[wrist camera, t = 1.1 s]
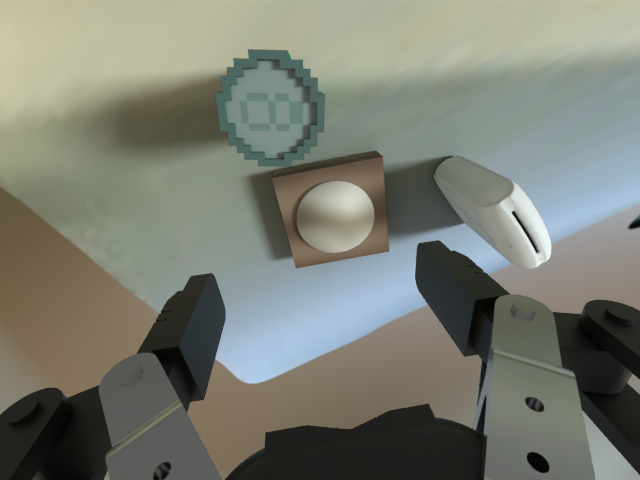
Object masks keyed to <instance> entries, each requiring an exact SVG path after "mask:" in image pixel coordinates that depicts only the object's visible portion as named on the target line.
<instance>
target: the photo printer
mask: <svg viewBox="0 0 640 480" xmlns="http://www.w3.org/2000/svg"><path fill="white" fill-rule="evenodd" d="M434 179H435V181H436V183H437V185H438V186H439V188H440V190H441V191H442V193H443V194H444V196H445V197H446V199H447V200H448V202H449V203H450V204H451V206H452V207H453V209H454V210H455V211H456V213H457V214H458V215H459V217H460V218H461V219H462V220H463V222H464V223H465V224H466V225H468V226H469V227H470V228H471V229H472V230H473V231H475V232H476V233H477V234H478V235H479V236H480V237H482V238H483V239H484V240H485V241H486V242H487V243H489V244H490V245H491V246H492V247H493V248H494V249H495V250H497V251H498V252H499V253H500V254H501V255H502V256H503V257H505V258H506V259H507V260H508V261H509V262H511V263H512V264H514V265H516V266H518V267H521V268H536V267H538V266H539V265H540V264H541V263H543V262H545V261H547V260H548V259H549V258H550V254H551V241H550V237H549V234H548V232H547V229H546V227H545V225H544V223H543V221H542V219H541V217H540V215H539V214H538V212H537V210H536V208H535V207H534V205H533V204H532V202H531V201H530V199H529V198H528V197H527V195H526V194H525V193H524V191H523V190H522V189H521V188H520V187H519V186H518V185H517V184H516V183H514V182H513V181H512V180H510V179H508V178H506V177H504V176H502V175H500V174H498V173H496V172H494V171H492V170H490V169H488V168H486V167H483V166H481V165H479V164H477V163H475V162H473V161H471V160H468V159H466V158H464V157H462V156H457V157H456V158H455V157H452V158H448V159H446V160H445V161H443V162H442V163H441V164H440V165H439V166H438V167H437V169H436V171H435V174H434Z"/></svg>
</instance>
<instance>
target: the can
mask: <svg viewBox="0 0 640 480" xmlns="http://www.w3.org/2000/svg"><path fill="white" fill-rule="evenodd" d="M248 54H249V59H239V58H233V60H234V67H227V75H228V76H220V79H221V87H222V92H216V93H215V97H216V104H217V111H218V117H219V124H220V131H221V132H228V138H229V146H236V147H237V153H244V158H245V160H258V165H259V166H291V163H292V160H304V153H310V146H317V132H324V102H325V94H323V93H321V92H319V91H318V78H310V69H303V60H291V58H290V55H289V53H288V51H287V50H248Z"/></svg>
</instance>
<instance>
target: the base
mask: <svg viewBox="0 0 640 480" xmlns="http://www.w3.org/2000/svg"><path fill="white" fill-rule="evenodd" d="M272 181H273V184H274V188H275V192H276V196H277V199H278V203H279V207H280V210H281V214H282V218H283V221H284V225H285V229H286V232H287V236H288V240H289V244H290V247H291V251H292V255H293V258H294V262H295V266H296V268H300V267H306V266H311V265H317V264H322V263H328V262H333V261H339V260H344V259H350V258H355V257H361V256H366V255H372V254H377V253H383V252H389V242H388V227H387V212H386V198H385V183H384V168H383V156H382V155H380V154H379V153H378V152H377V151H372V152H366V153H361V154H356V155H351V156H346V157H341V158H336V159H331V160H325V161H320V162H315V163H310V164H305V165H300V166H295V167H290V168H284V169H279V170H274V173H273V176H272Z"/></svg>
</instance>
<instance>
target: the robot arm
mask: <svg viewBox="0 0 640 480" xmlns="http://www.w3.org/2000/svg"><path fill="white" fill-rule="evenodd" d="M415 280H416V285H417V288H418V290H419V292H420V293H421V295H422V296H423V298H424V299H425V300H426V302H427V303H428V305H429V306H430V308H431V309H432V311H433V312H434V313H435V315H436V316H437V318H438V319H439V321H440V322H441V323H442V325H443V327H444V328H445V329H446V331H447V332H448V334H449V335H450V337H451V338H452V340H453V341H454V342H455V344H456V345H457V347H458V348H459V350H460V351H461V353H462V354H463V355H464V357H465V356H471V355H477V354H478V355H479V356H480V358H481V359H482V361H481V366H480V373H479V381H478V390H477V398H476V406H475V415H474V422H473V427H472V428H469V427H467V426H465V425H463V424H460V423H457V422H454V421H451V420H447V419H442V418H435V417H434V414H433V412H432V410H431V408H430V406H429V404H424V405H419V406H413V407H408V408H402V409H397V410H390V411H388V412H386V413H384V414H382V415H380V416H378V417H376V418H374V419H372V420H369V421H367V422H365V423H363V424H361V425H359V426H357V427H355V428H353V429H338V428H328V427H318V426H308V425H306V426H300V427H295V428H289V429H283V430H277V431H272V432H266V436H265V448H263V449H261V450H259V451H257V452H256V453H254V454H253V455H251V456H250V457H249V458H247V459H246V460H245V461H243V462H242V463H241V464H240V465H238V466H237V467H236V468H235V469H234V470H233V471H232V472H231V473H230V474H229V476H228V477H227V478H226V479H225V480H596V479H595V474H594V469H593V464H592V459H591V454H590V449H589V444H588V439H587V434H586V428H585V423H584V419H583V413H582V410H583V411H584V412H585V413H586V414H587V416H588V417H589V418H590V419H591V420H592V421H593V423H594V424H595V425H596V426H597V427H598V428H599V429H600V431H601V432H602V433H603V434H604V435H605V436H606V437H607V438H608V440H609V441H610V442H611V443H612V444H613V445H614V446H615V447H616V449H617V450H618V451H619V452H620V453H621V454H622V455H623V456H624V458H625V459H626V460H627V461H628V462H629V463H630V464H631V466H632V467H633V468H634V469H635V470H636V471H637V472H638V474H639V475H640V395H639V393H637V392H636V391H635V390H634V389H633V388H632V387H631V386H630V385H628V384H627V382H628V380H629V379H630V377H631V375H632V374H634V375H635V376H637V377H638V378H639V379H640V311H639V310H637V309H635V308H633V307H630V306H628V305H625V304H622V303H618V302H614V301H608V300H594V301H590V302H588V303H586V305H585V306H584V309H583V311H582V313H581V314H571V313H557V312H552V311H551V310H550V309H549V308H548V307H547V306H545V305H544V304H543V303H541V302H539V301H537V300H535V299H532V298H529V297H526V296H522V295H511V294H509V293H508V292H507V291H506V290H505V289H504V288H502V287H501V286H500V285H499V284H498V283H497V282H496V281H495V280H493V279H492V278H491V277H490V276H489V275H488V274H487V273H484V272H483V270H482V269H481V268H480V267H479V266H476V264H475V263H474V262H473V261H472V260H471V259H469V258H468V257H467V256H465V255H463V254H461V253H458V252H456V251H450V250H449V249H448V248H447V247H446V246H445V245H444V244H443V243H442V242H441V241H439V240H437V241H430V242H424V243H419V244H418V246H417V256H416V272H415ZM224 323H225V306H224V303H223V300H222V297H221V294H220V291H219V288H218V285H217V282H216V279H215V276H214V275H213V274H212V273H209V274H202V275H195V276H191V277H190V278H189V280H188V282H187V284H186V286H185V288H184V290H183V291H178V292H177V293H175V294H174V295H173V296H172V297H171V298H170V299H169V300H168V301H167V302H166V304H165V305H164V307H163V309H162V311H161V314H159V316H158V318H157V319H156V323H154V324H153V326H152V328H151V330H150V331H149V333H148V335H147V337H146V339H145V340H144V342H143V344H142V345H141V347H140V349H139V350H138V352H137V354H136V355H132V356H130V357H128V358H126V359H124V360H122V361H121V362H119V363H118V364H116V365H115V366H114V367H113V368H112V369H110V370H109V371H108V372H107V373H106V375H105V376H104V377H103V379H102V381H101V383H100V385H98V386H96V387H93V388H91V389H88V390H86V391H83V392H81V393H78V394H76V395H73V396H71V397H68V398H66V396H65V395H64V394H63V393H62V391H60V390H59V389H58V388H45V389H42V390H39V391H36V392H34V393H31V394H29V395H27V396H25V397H24V398H22V399H20V400H19V401H17V402H16V403H14V404H13V405H11V406H10V407H9V408H8V409H6V410H5V411H4V412H3V413H2V414H1V415H0V480H104V477H105V475H106V472H107V470H108V473H109V478H110V480H223V479H222V478H221V476H220V474H219V472H218V470H217V468H216V467H215V464H214V463H213V461H212V459H211V457H210V455H209V453H208V452H207V450H206V448H205V446H204V444H203V442H202V440H201V438H200V436H199V435H198V433H197V431H196V429H195V428H194V425H193V423H192V422H191V420H190V418H189V416H188V414H187V411H188V408H189V404H190V402H193V401H199V400H204V397H205V394H206V390H207V386H208V382H209V379H210V375H211V371H212V367H213V364H214V360H215V356H216V353H217V349H218V345H219V341H220V338H221V334H222V330H223V326H224Z"/></svg>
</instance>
